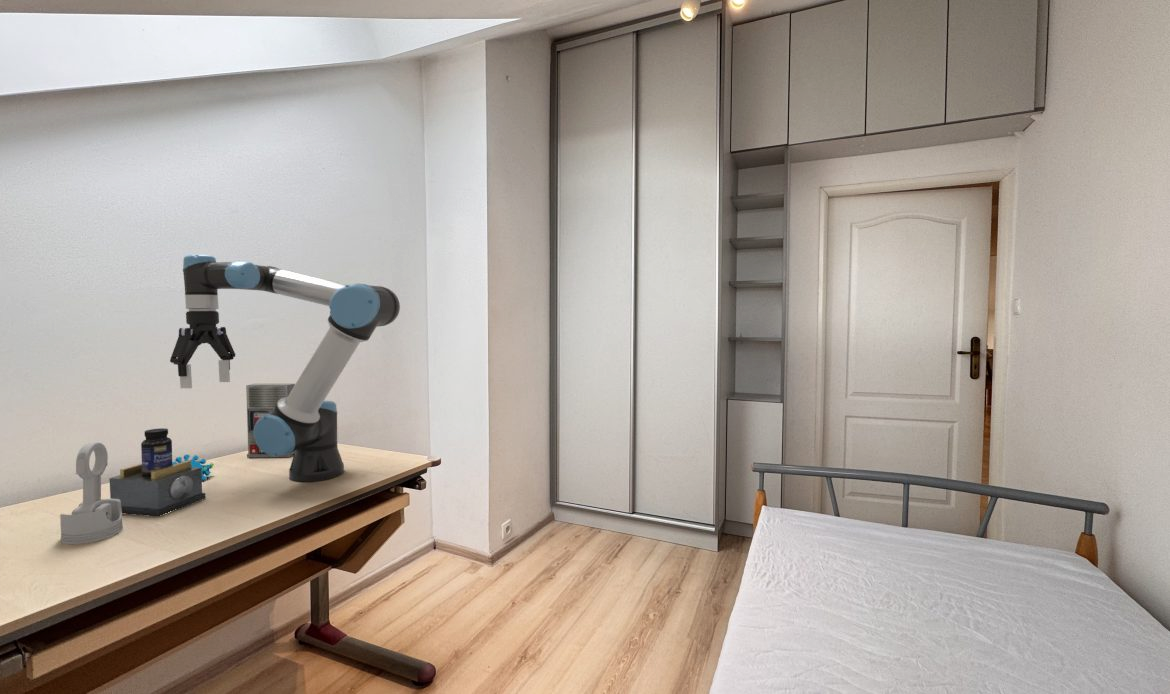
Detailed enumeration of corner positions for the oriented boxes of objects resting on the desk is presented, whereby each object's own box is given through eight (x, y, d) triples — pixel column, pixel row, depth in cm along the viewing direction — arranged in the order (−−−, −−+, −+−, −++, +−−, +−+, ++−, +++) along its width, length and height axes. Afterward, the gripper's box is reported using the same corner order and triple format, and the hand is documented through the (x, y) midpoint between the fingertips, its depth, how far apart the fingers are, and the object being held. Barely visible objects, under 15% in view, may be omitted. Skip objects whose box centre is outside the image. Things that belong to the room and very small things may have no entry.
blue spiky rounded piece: (178, 483, 147) (168, 454, 151) (168, 495, 149) (159, 467, 153) (220, 478, 157) (210, 451, 161) (210, 490, 159) (201, 463, 162)
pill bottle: (156, 476, 131) (155, 433, 131) (135, 475, 132) (133, 432, 131) (178, 469, 137) (177, 428, 137) (158, 468, 138) (157, 427, 138)
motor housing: (205, 498, 140) (204, 459, 140) (159, 516, 127) (157, 474, 127) (157, 494, 143) (156, 456, 142) (107, 512, 130) (105, 470, 129)
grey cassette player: (246, 458, 179) (244, 385, 177) (256, 453, 185) (254, 383, 183) (288, 458, 180) (287, 385, 178) (297, 453, 186) (295, 383, 184)
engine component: (49, 546, 111) (107, 541, 114) (44, 451, 110) (102, 448, 112) (82, 526, 121) (134, 522, 124) (77, 439, 120) (130, 437, 123)
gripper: (223, 310, 161) (227, 379, 162) (149, 310, 136) (154, 391, 137) (246, 310, 160) (250, 379, 162) (176, 309, 136) (181, 391, 137)
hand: (206, 385), depth 150 cm, fingers open, 13 cm apart
